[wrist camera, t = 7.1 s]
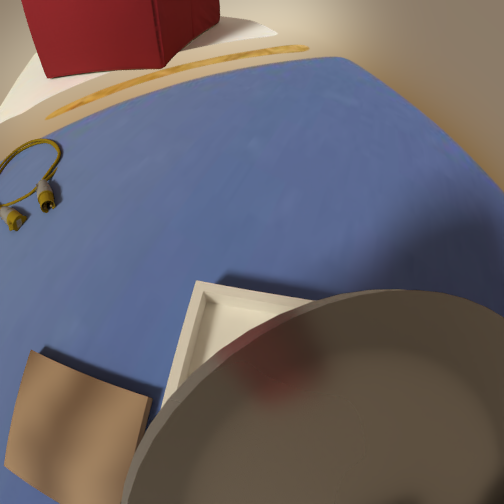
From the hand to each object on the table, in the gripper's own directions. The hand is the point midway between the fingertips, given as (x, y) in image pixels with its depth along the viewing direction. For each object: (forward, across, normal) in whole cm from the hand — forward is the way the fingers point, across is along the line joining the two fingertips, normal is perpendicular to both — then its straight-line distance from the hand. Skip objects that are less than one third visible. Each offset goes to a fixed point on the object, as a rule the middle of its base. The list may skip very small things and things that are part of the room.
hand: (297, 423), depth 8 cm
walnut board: (+7, +14, +8) cm, 17 cm away
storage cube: (+52, +18, -37) cm, 66 cm away
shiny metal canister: (+4, 0, +6) cm, 7 cm away
